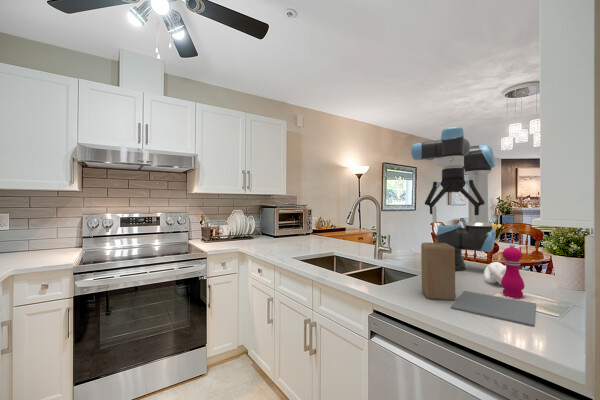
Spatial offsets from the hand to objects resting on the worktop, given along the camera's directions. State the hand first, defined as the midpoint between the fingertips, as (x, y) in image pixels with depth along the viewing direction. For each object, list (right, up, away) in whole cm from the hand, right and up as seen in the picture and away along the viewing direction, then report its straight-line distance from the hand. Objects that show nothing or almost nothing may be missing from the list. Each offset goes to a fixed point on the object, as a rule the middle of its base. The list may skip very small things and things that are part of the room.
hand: (453, 223), depth 108 cm
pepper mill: (+23, -28, 0) cm, 36 cm away
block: (-5, -28, +1) cm, 29 cm away
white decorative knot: (+29, -28, +15) cm, 43 cm away
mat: (+8, -28, -11) cm, 31 cm away
